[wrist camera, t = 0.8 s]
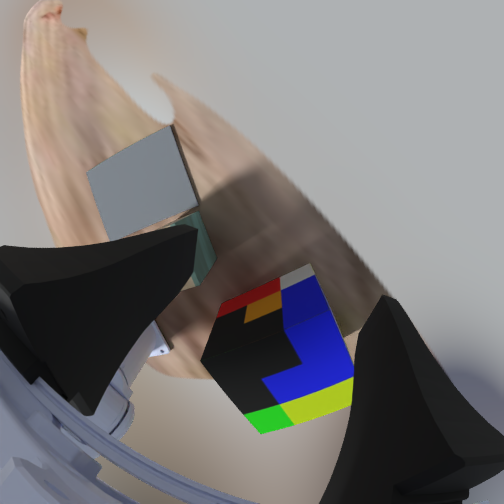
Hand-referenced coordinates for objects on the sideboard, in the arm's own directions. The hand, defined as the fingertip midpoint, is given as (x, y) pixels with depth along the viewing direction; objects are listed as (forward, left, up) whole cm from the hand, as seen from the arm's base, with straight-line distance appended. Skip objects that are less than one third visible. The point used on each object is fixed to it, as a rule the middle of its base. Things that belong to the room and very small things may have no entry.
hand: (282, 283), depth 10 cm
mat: (-12, +8, -16) cm, 22 cm away
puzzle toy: (-2, -11, -17) cm, 20 cm away
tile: (-8, +1, -16) cm, 18 cm away
